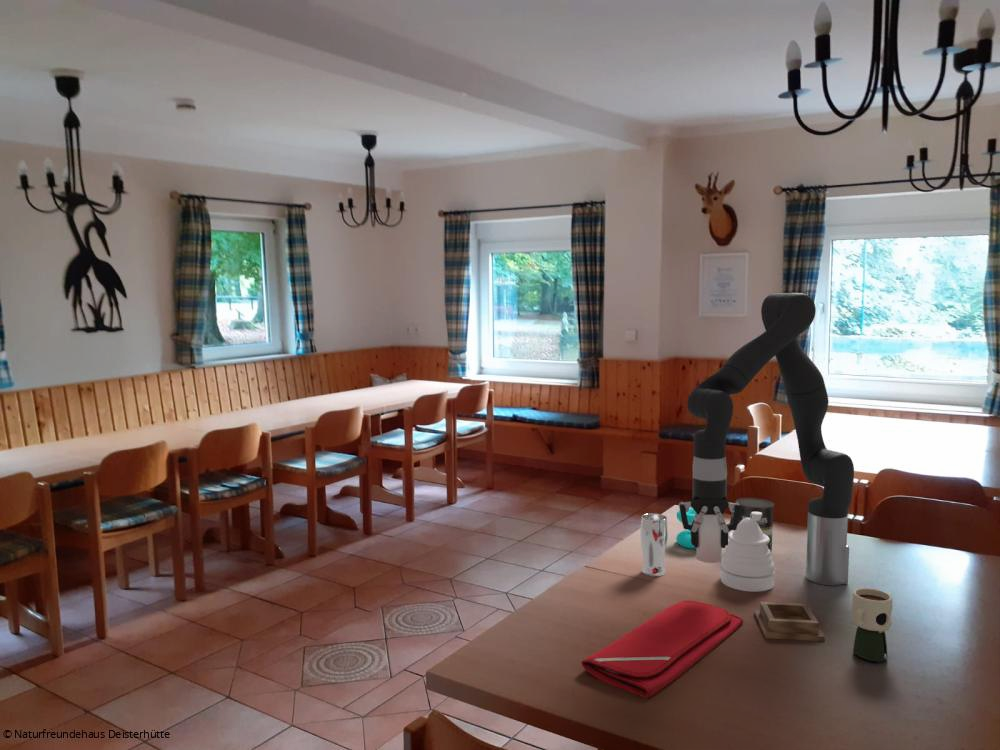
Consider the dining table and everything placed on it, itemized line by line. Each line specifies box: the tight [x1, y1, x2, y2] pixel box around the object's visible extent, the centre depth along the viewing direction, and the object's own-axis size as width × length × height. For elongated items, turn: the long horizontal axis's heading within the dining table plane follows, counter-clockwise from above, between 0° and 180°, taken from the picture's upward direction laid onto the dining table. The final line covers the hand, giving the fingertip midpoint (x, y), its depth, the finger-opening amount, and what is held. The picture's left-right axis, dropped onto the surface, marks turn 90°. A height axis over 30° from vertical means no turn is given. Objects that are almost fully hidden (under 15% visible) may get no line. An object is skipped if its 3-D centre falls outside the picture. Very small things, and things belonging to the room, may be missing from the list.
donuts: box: [675, 507, 697, 550], centre depth 219 cm, size 10×10×10 cm
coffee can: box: [734, 497, 775, 556], centre depth 213 cm, size 10×10×14 cm
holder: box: [753, 601, 826, 642], centre depth 165 cm, size 12×12×4 cm
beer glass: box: [640, 513, 669, 577], centre depth 197 cm, size 7×7×15 cm
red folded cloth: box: [581, 600, 744, 699], centre depth 156 cm, size 16×41×4 cm, turn 139°
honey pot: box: [720, 512, 775, 593], centre depth 190 cm, size 13×13×18 cm
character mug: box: [851, 587, 893, 662], centre depth 151 cm, size 11×7×13 cm, turn 126°
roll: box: [696, 515, 723, 564], centre depth 175 cm, size 6×6×11 cm
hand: (709, 546), depth 174 cm, fingers closed on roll, 5 cm apart
